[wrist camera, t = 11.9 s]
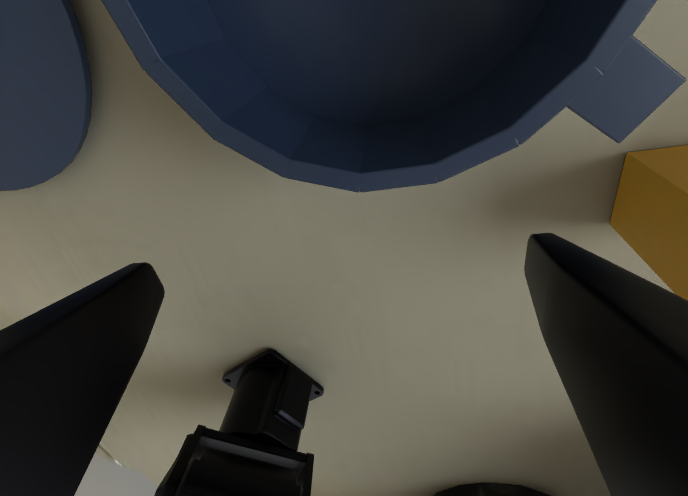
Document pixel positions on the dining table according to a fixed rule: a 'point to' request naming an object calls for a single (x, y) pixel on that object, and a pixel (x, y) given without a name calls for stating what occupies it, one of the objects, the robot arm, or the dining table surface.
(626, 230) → the block
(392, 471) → the dining table surface
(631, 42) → the pot
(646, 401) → the robot arm
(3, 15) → the lid
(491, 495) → the beer stein
